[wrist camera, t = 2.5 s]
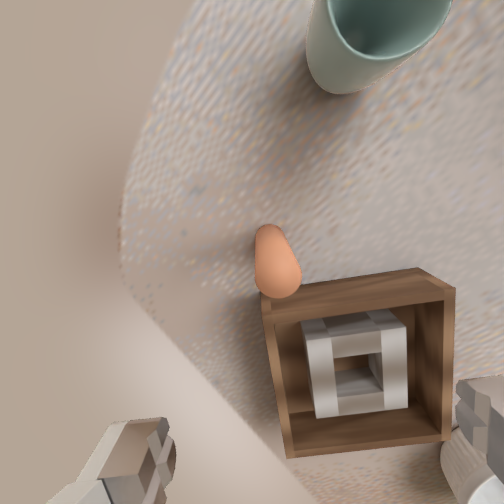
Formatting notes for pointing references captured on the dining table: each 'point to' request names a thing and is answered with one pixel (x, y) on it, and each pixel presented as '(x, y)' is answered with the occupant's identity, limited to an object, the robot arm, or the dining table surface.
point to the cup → (367, 39)
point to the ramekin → (469, 472)
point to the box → (362, 362)
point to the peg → (275, 263)
